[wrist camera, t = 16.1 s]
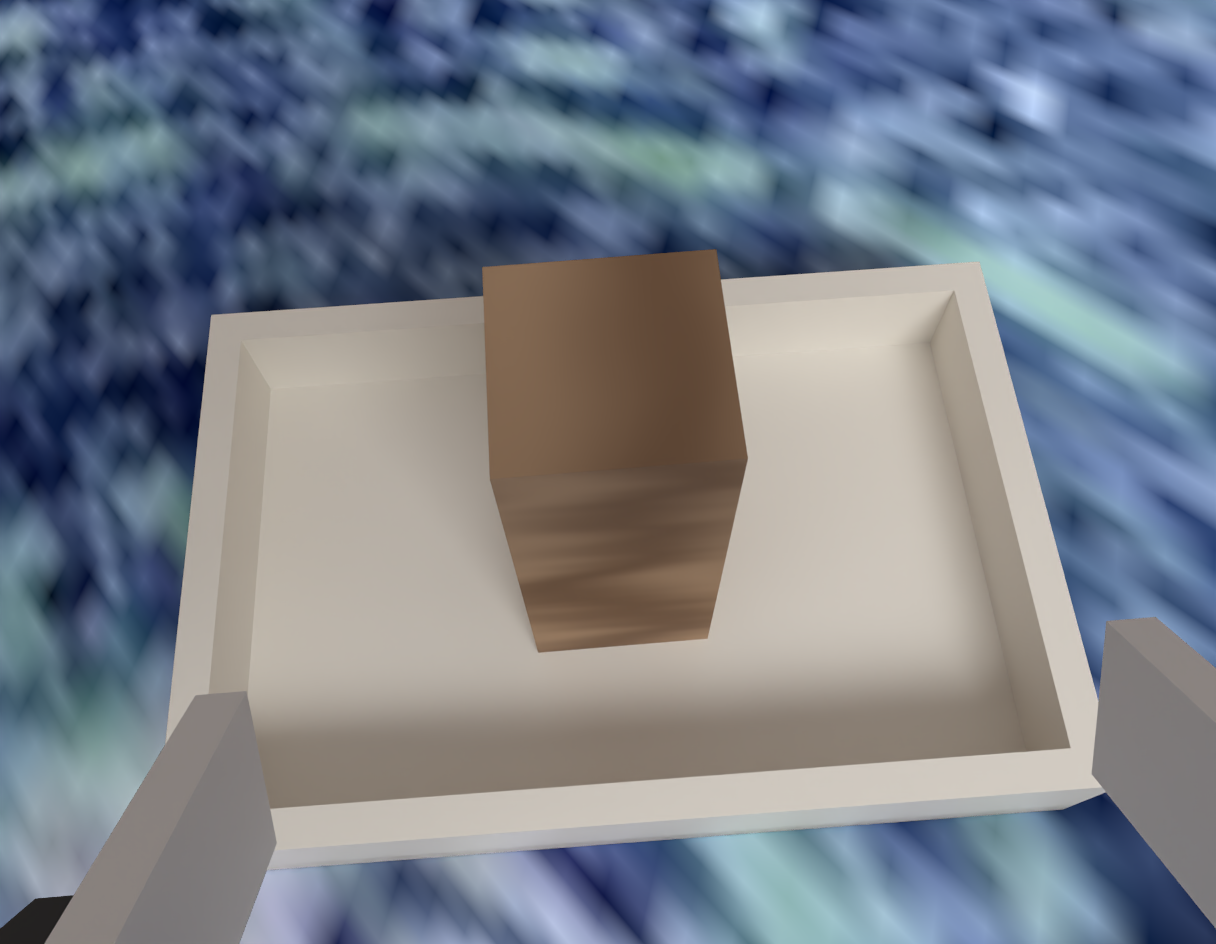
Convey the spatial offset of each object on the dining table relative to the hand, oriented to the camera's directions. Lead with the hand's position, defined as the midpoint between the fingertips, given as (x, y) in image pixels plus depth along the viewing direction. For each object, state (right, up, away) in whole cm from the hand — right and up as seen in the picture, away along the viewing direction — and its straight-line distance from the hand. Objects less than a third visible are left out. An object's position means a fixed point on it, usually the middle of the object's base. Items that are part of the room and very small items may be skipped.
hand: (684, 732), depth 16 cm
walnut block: (-1, +1, +16) cm, 16 cm away
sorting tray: (-1, +1, +17) cm, 17 cm away
